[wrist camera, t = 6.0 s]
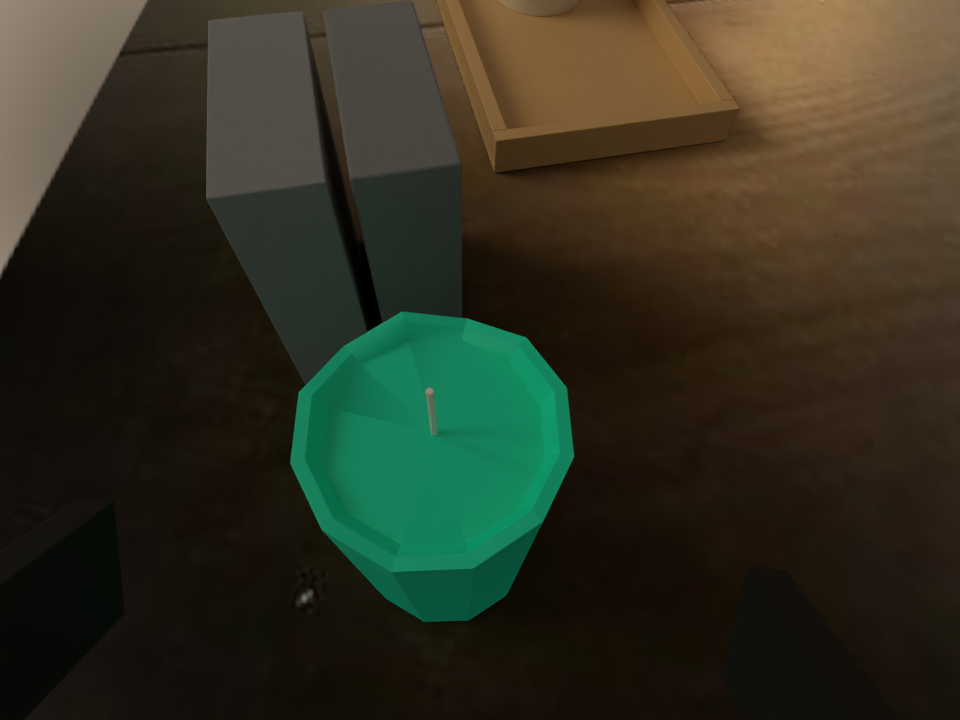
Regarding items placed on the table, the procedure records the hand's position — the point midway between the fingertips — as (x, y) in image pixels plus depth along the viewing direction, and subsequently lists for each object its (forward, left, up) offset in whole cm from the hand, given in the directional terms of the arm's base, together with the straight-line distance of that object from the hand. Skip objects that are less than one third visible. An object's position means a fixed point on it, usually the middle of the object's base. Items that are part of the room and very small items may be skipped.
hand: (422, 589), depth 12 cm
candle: (-3, +1, -9) cm, 10 cm away
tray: (-35, +14, -9) cm, 39 cm away
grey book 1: (-14, -2, -9) cm, 17 cm away
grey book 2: (-14, +1, -9) cm, 17 cm away
